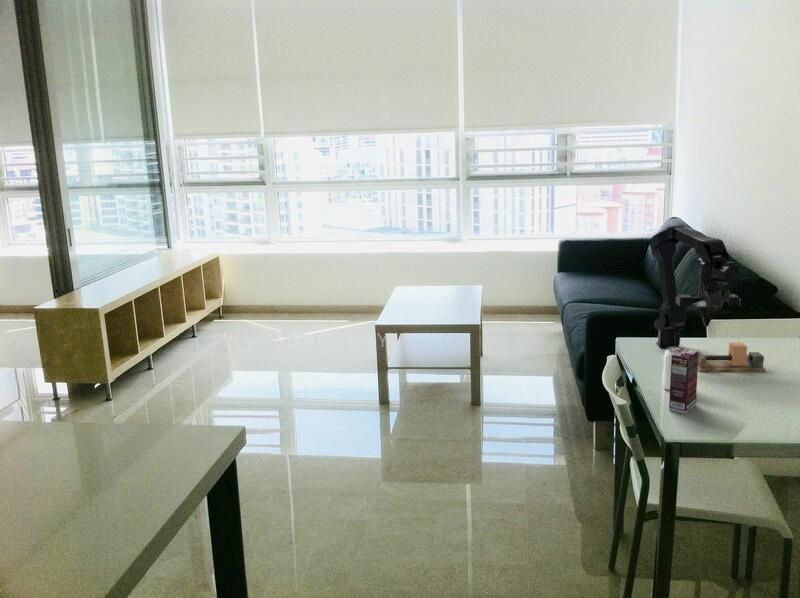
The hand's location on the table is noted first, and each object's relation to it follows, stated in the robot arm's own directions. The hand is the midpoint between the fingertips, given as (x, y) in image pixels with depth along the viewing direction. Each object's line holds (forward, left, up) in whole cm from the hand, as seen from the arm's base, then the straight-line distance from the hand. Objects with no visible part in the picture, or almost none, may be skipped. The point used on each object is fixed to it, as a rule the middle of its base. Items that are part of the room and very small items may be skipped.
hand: (706, 326), depth 242 cm
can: (-16, -26, -12) cm, 33 cm away
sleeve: (+8, -6, -11) cm, 15 cm away
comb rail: (+6, -6, -12) cm, 14 cm away
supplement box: (-18, -42, -12) cm, 47 cm away
